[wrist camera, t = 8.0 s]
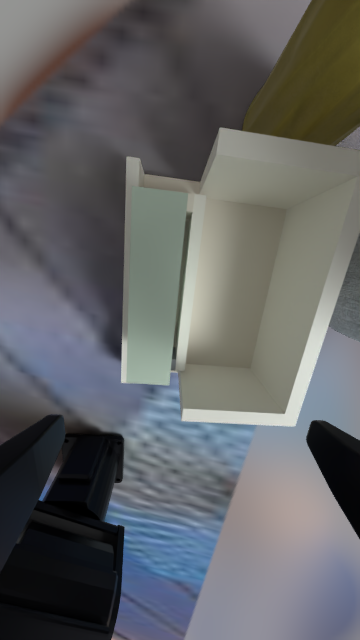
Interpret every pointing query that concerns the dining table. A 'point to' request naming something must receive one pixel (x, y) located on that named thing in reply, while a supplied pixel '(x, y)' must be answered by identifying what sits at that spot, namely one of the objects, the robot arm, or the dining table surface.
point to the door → (154, 282)
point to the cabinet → (255, 272)
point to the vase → (314, 79)
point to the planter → (349, 300)
